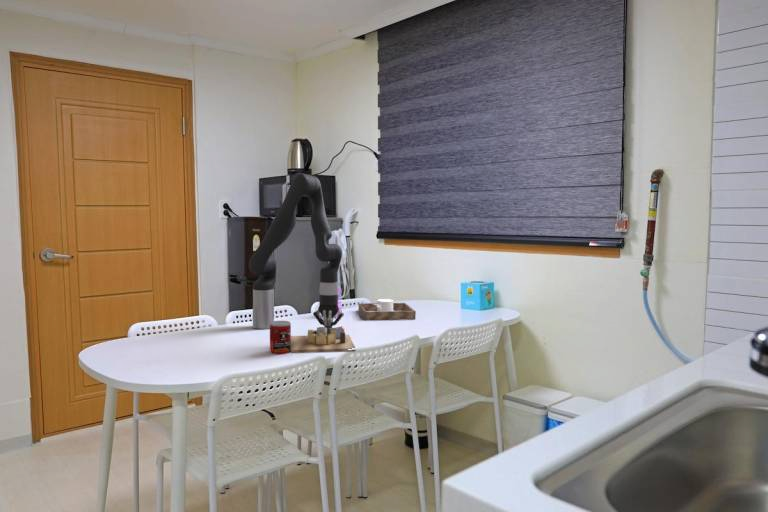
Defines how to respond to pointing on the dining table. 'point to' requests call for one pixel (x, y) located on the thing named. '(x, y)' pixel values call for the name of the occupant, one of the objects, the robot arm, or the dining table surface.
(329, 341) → the gold ring with lever
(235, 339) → the dining table surface
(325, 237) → the robot arm
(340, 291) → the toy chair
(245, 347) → the dining table surface
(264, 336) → the dining table surface
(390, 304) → the tree stump
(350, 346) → the jig board
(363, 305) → the walnut frame
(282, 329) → the canned food
